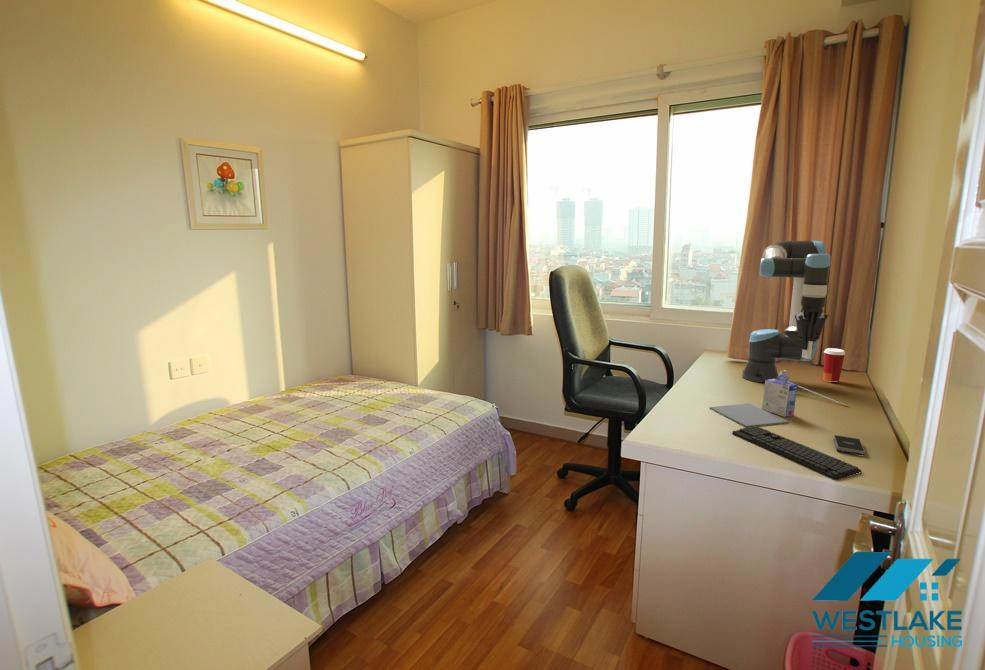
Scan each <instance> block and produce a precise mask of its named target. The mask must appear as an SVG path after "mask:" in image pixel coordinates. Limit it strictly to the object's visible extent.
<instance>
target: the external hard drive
mask: <svg viewBox="0 0 985 670" xmlns="http://www.w3.org/2000/svg"><path fill="white" fill-rule="evenodd" d="M833 442H834V445H835V448H836V450H837V452H838V453H841V454H842V453H843V454H848V455H853V454H854V455H855V456H859V455H864V456H865V453H866V449H865V448H864V446H863V444H862V442H861V440H860V438H857V437H850V436H849V437H848V436H845V435H844V436H843V435H838V434H837V435H836V434H834V436H833Z"/></svg>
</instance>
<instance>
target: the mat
mask: <svg viewBox="0 0 985 670" xmlns="http://www.w3.org/2000/svg"><path fill="white" fill-rule="evenodd" d="M711 409H712V410H711ZM709 410H711V411H713V410H714V411H713V412H715V411H716V412H715V413H718V414H719V415H721V416H722V417H723V416H724V417H725V418H727V419H729V420H730V421H733V422H735V423H737V424H738V425H741V426H742V427H744V428H747V427H752V426H758V427H764V426H773V425H774V426H775V425H779V424H782V423H783V424H789V423H790V421H789V420H787V419H785V418H782V417H780V416H779V415H777V414H775V413H772V412H768V411H765V410H763V409H762V408H760V407H759V406H756V405H753V404H752V403H739V404H728V405H720V406H718V405H717V406H709Z"/></svg>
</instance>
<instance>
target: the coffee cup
mask: <svg viewBox="0 0 985 670" xmlns="http://www.w3.org/2000/svg"><path fill="white" fill-rule="evenodd" d="M823 353H824V356H823V357H824V359H823V374H822V377H823V378H822V380H823V379H824V380H827V381H839V382H840V377H841V373H842V369H843V364H844V360H845V359H844V358H845V355H846V351H845V350H844V349H840V348H833V347H832V348H831V347H827V348H825V349H824V351H823Z"/></svg>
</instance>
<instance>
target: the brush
mask: <svg viewBox="0 0 985 670" xmlns="http://www.w3.org/2000/svg"><path fill="white" fill-rule="evenodd" d="M787 373H788V370H787V369H786V370H785V369H783V370H781V371H779V372H778V376H779V375H784V376H787ZM780 379H784V380H786V378H784V377H780ZM787 382H789V383H793V384H795V383H794V382H791V381H789V380H788V381H787ZM797 388H800V389H802V390H805V391H807V392H810V393H812V394H814V395H817V396H820V397H821V398H825V399H827V400H829V401H832V402H834V403H836V404H839V405H841V404H844V405H846V404H845V403H843V402H841V401H838V400H835V399H833V398H831V397H828V396H825V395H823V394H821V393H818V392H816V391H813V390H810V389H808V388H806V387H803V386H800V385H798V386H797ZM844 405H843V406H844Z"/></svg>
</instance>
